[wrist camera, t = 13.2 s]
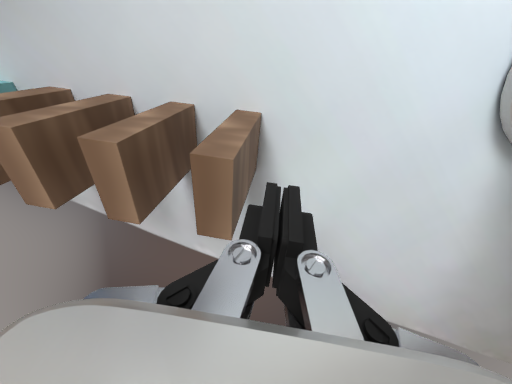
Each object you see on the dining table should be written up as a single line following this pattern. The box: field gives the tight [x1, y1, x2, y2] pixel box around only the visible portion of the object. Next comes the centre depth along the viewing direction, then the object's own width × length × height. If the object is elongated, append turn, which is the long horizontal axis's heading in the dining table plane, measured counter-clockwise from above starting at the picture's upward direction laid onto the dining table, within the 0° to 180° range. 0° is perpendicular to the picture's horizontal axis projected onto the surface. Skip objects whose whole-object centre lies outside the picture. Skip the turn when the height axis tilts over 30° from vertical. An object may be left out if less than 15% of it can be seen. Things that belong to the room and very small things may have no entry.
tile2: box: [77, 102, 197, 224], centre depth 15 cm, size 2×5×9 cm, turn 175°
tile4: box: [0, 87, 74, 185], centre depth 16 cm, size 2×5×9 cm, turn 175°
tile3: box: [0, 94, 135, 209], centre depth 16 cm, size 2×5×9 cm, turn 175°
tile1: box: [190, 110, 261, 240], centre depth 15 cm, size 2×5×9 cm, turn 175°
